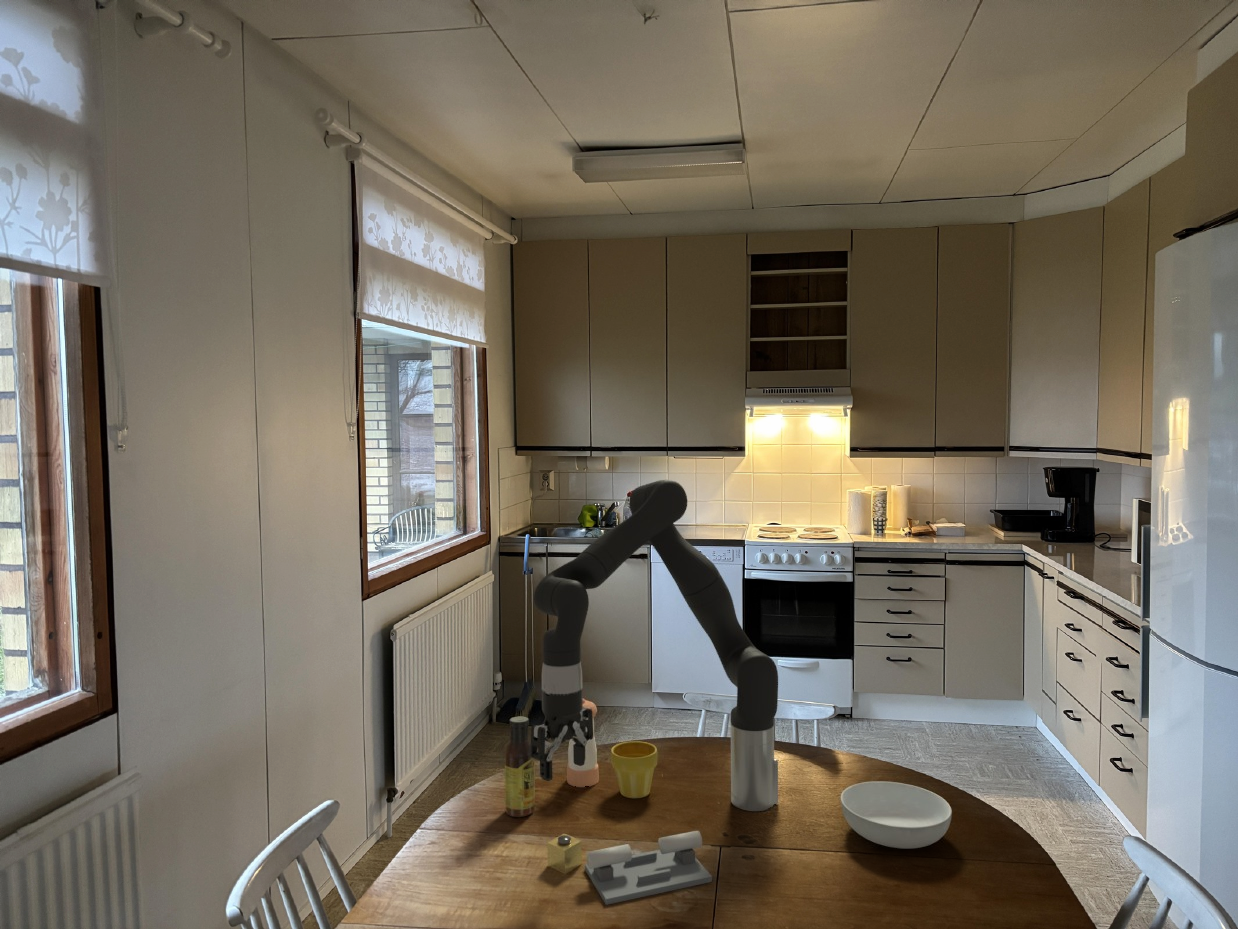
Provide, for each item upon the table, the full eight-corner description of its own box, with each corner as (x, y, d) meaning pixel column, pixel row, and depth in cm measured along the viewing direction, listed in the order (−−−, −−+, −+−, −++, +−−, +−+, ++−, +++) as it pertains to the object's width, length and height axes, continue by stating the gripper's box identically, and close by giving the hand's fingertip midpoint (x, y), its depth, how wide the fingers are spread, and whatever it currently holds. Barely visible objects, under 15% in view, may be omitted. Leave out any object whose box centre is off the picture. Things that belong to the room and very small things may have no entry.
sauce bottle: (529, 820, 170) (528, 726, 169) (501, 817, 172) (499, 724, 171) (539, 806, 177) (537, 715, 176) (511, 803, 178) (509, 713, 177)
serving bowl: (968, 834, 162) (968, 799, 162) (925, 876, 147) (925, 839, 147) (869, 802, 177) (869, 771, 176) (820, 838, 161) (820, 804, 161)
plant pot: (612, 782, 188) (611, 740, 188) (657, 782, 188) (656, 740, 187) (610, 802, 178) (609, 758, 177) (658, 802, 178) (657, 758, 177)
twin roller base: (688, 849, 158) (687, 819, 157) (715, 880, 146) (715, 849, 146) (581, 870, 150) (580, 839, 150) (601, 905, 139) (601, 872, 139)
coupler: (564, 856, 156) (564, 830, 155) (582, 864, 153) (581, 837, 153) (547, 866, 152) (547, 839, 152) (565, 874, 149) (564, 847, 149)
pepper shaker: (598, 787, 186) (596, 703, 185) (565, 787, 186) (564, 704, 185) (599, 773, 193) (598, 693, 192) (568, 774, 193) (567, 693, 192)
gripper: (573, 673, 159) (574, 755, 160) (519, 691, 148) (521, 779, 149) (602, 680, 154) (603, 765, 155) (548, 699, 143) (550, 790, 144)
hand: (563, 772), depth 152 cm, fingers open, 8 cm apart
